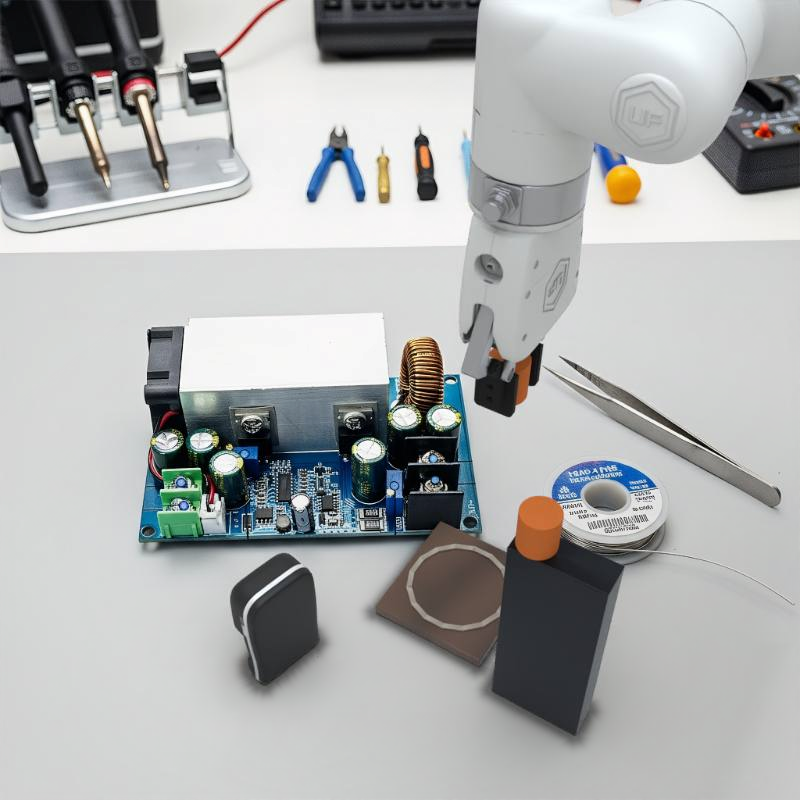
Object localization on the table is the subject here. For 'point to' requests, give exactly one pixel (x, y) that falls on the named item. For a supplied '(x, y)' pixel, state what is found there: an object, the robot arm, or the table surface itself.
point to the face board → (450, 593)
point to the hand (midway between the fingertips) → (506, 391)
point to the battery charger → (276, 614)
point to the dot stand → (554, 631)
